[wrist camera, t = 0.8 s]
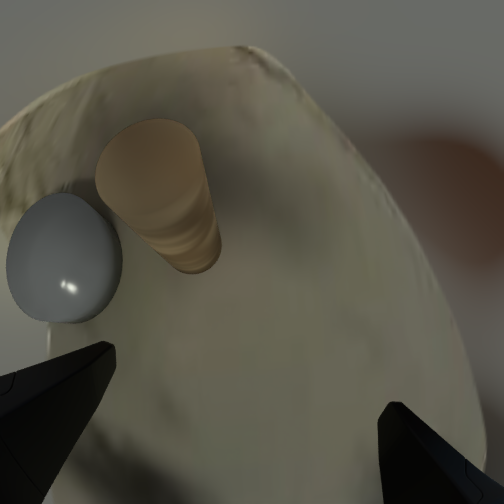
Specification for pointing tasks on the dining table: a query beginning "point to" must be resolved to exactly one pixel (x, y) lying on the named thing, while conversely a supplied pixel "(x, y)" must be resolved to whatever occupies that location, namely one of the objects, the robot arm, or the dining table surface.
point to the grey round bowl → (63, 260)
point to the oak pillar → (162, 192)
